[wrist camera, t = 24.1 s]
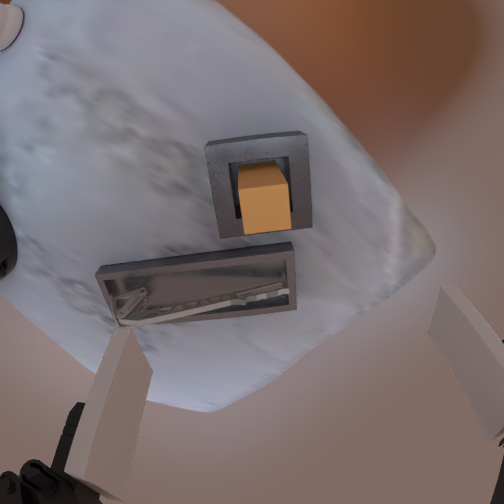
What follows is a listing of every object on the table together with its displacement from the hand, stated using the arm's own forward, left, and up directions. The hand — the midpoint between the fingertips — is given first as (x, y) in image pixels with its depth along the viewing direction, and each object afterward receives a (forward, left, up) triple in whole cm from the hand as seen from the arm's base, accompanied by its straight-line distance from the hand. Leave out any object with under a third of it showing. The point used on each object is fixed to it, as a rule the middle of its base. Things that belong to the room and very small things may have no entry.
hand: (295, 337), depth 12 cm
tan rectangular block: (0, 0, -25) cm, 25 cm away
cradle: (-10, -13, -25) cm, 30 cm away
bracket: (-10, -13, -24) cm, 29 cm away
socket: (0, 0, -25) cm, 25 cm away
